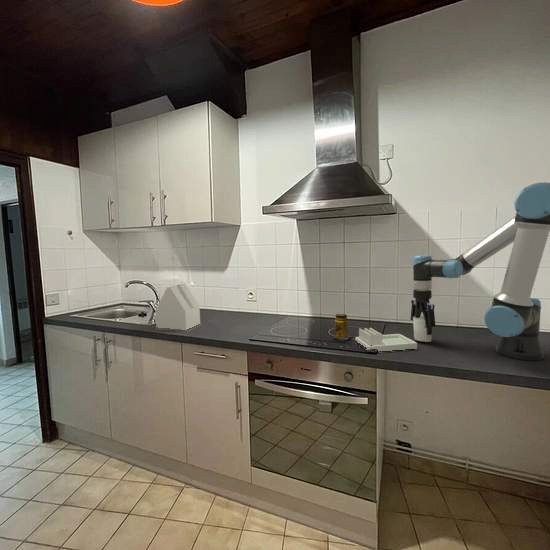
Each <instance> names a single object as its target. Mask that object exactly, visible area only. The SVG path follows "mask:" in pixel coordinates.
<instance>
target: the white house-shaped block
mask: <svg viewBox="0 0 550 550" xmlns="http://www.w3.org/2000/svg"><path fill="white" fill-rule="evenodd" d="M200 310H201V309H200V305H199V303H198V301H197V300H196V298H195V297H194V295H193V293H192V291H191V290H190V289H189V287H188V285H186V283H180V284H176V285H171V286H167V287H166V289H165V291H164V293H163V295H162V297H161V299H160V300H159V303H158V305H157V306H156V309H155V324H156V327H155V328H157V327H158V328H170V329H181V330H187V329H189V328H192V327H194V326H196V325H198V324H200V325H201V311H200Z"/></svg>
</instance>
